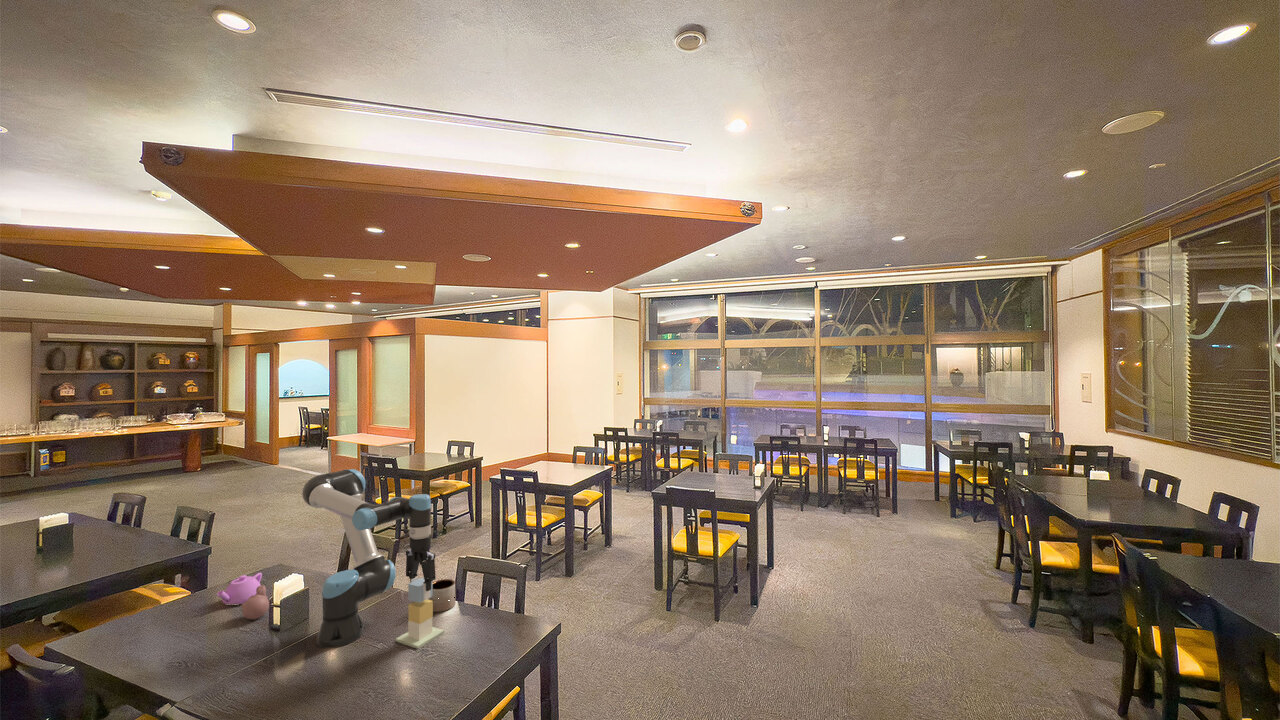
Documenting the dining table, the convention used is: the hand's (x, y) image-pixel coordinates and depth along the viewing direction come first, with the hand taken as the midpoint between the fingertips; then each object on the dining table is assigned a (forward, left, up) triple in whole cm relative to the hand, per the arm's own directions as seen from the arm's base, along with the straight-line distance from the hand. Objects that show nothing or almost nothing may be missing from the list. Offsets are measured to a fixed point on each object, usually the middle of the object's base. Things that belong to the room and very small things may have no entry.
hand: (420, 597), depth 186 cm
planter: (-12, +21, -15) cm, 29 cm away
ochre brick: (0, 0, -8) cm, 8 cm away
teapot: (-99, -13, -15) cm, 101 cm away
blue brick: (0, 0, 0) cm, 0 cm away
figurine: (-76, -19, -15) cm, 80 cm away
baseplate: (0, 0, -15) cm, 15 cm away
